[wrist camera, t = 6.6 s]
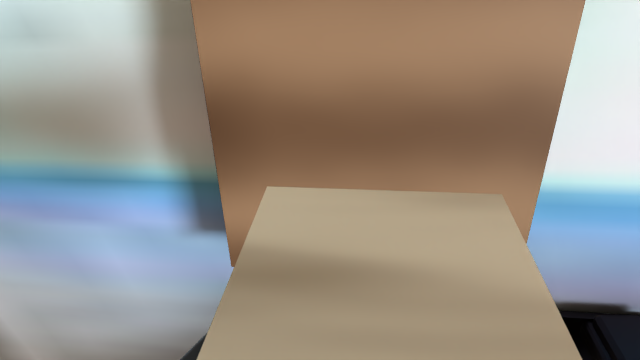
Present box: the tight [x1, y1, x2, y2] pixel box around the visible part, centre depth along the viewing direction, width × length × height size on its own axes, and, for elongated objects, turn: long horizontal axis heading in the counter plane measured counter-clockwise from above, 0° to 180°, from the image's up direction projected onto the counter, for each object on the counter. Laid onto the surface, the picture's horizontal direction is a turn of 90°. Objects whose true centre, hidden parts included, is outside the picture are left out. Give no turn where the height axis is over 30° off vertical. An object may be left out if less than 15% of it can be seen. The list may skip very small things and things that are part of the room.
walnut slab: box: [190, 0, 585, 267], centre depth 17 cm, size 12×12×3 cm
